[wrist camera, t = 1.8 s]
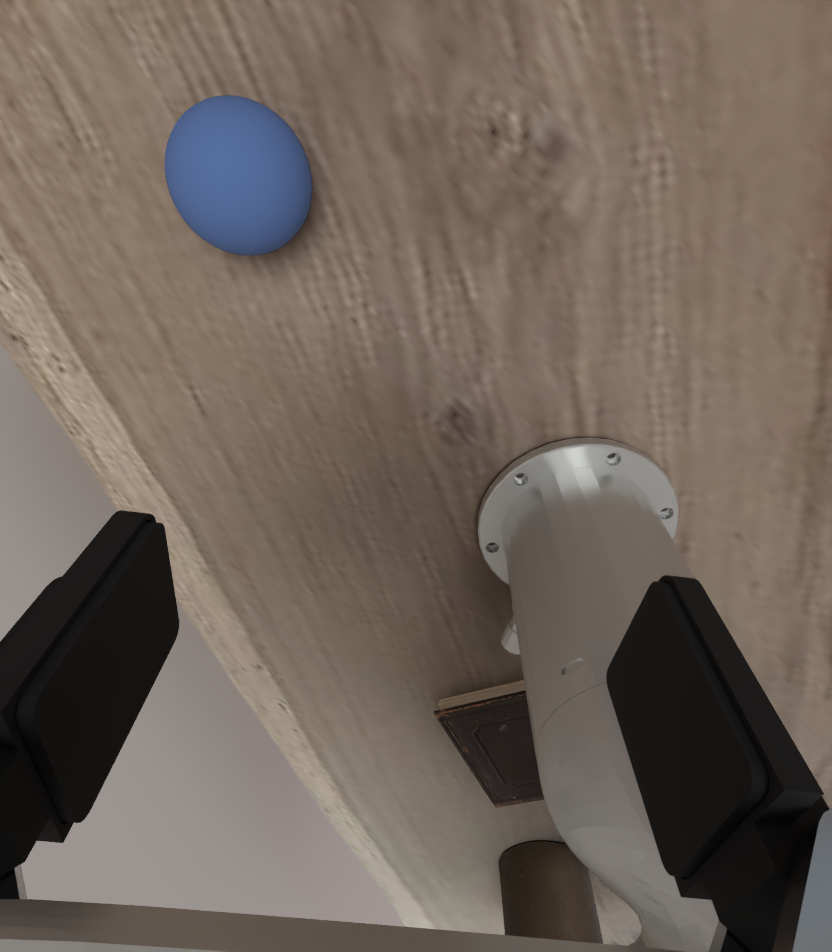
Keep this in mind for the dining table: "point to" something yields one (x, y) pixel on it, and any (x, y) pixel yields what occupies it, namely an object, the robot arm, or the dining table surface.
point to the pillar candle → (547, 894)
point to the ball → (238, 175)
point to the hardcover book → (495, 741)
